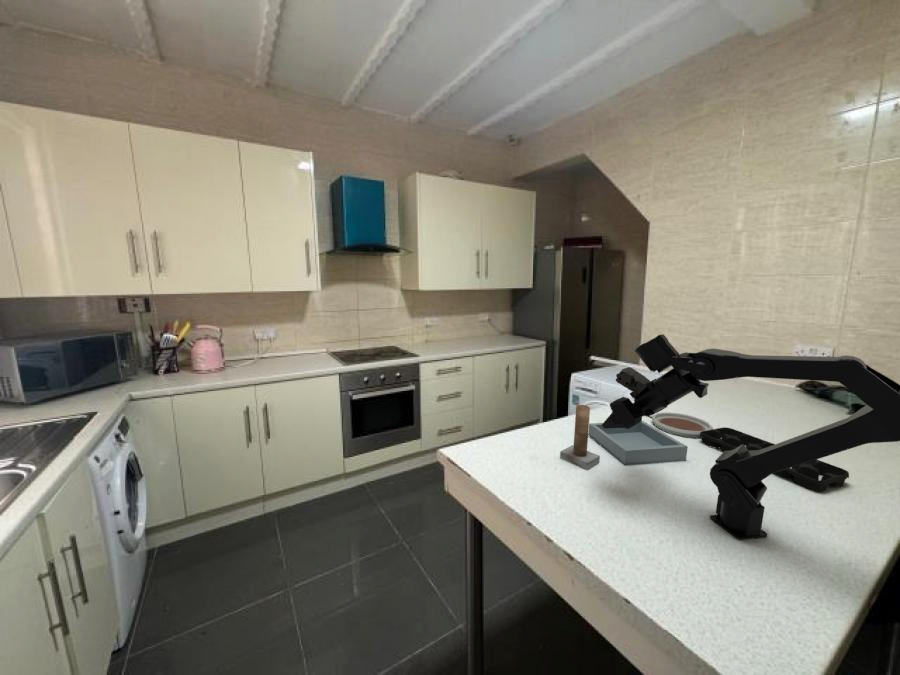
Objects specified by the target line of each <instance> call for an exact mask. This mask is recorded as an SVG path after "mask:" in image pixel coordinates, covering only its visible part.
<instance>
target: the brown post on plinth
mask: <svg viewBox="0 0 900 675" xmlns="http://www.w3.org/2000/svg"><path fill="white" fill-rule="evenodd" d="M590 414H591V407H590V406H588V405H586V404H585V405H584V404H577V405H576V406H575V420H574V433H573V434H574V435H573V444H572V445H570V446H568V447H566V448H564V449H562V450H560V451H559V452H560V453H559V459H561V460H563V461H565V462H568V463H570V464H571V465H575V466H577V467H578V468H581V469H583V470H586V471H588V470H590V469H591V468H593V467H595V466H596V465H599V464H600V461H601V460H600V459H601V456H600V455H599V454H596V453H594V452H592V451H589V450H588V442H589V440H588V439H589V436H588V434H589V424H590Z"/></svg>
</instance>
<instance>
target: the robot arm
mask: <svg viewBox="0 0 900 675" xmlns="http://www.w3.org/2000/svg"><path fill="white" fill-rule="evenodd" d="M634 353H635V354H636V355H637V356H638V357H639V358H638V359H640V361H642V362H643V364H644V365H645V366H646V367H647V369H648V370H649V372H653V373H655V372H657V373H658V374H660V373H663V372H665V371H667V370H668V369H670V368H671V367H672V368H671V369H670V370H668V371H667V372H665V373H664V374H662V375H660V376H659V377H657V378H654V379H652V380H650V379H649V378H647V377H646V376H645V375H643V374H642V373H641V372H639V371H637V370H636V369H635V368H632V367H630V366H628V367H624V368H622V369H621V370H620V371H619V373H617V374H616V375H615V376H616V378H615V382H616V383H618V384H620V385H621V386H623V387H624V388H626V389H627V390H628V391H630V392H629V395H630V397H631V398H632V399H633V401H634V402H632V400H631V399H630V397H626V396H622V397H618V398H617V399H615V400H613V401H612V402H611V403H609V408H610V410H611V413H610V415H609V416H608V417H607V418H606V419H605V420H604V422H602V423H603V424H602V426H603V428H604V429H609V428H626V429H629V428H631V427H633V426H635V425H636V424H638V423H640V422H642V421H643V417H646V416H647V417H650V415H655V414H657V413H660V412H661V411H663V410H664V409H667V408H668V406H670V405H672V404H673V403H675V402H676V401H678V400H680V399H682V398H684V397H685V396H687V395H689V394H691V393H692V392H694V394H695V395H696V397H698V398H699V399H702V398H704V397H705V396H707V395H708V387H709V385H710V384H709V383H708V382H713V381H723V380H732V379H738V378H760V379H761V378H762V379H763V378H764V379H778V380H779V379H783V380H797V381H798V380H804V381H816V382H817V381H818V382H819V381H820V382H834V383H835V382H836V383H839V384H840V385H843V386H844V387H845V388H846V389H848V390H849V391H850V392H851V393H852V394H853V395H854V396H856V397H857V398H858V399H860V400H861V401H862V402H863V403H864V404H865V406H863V407H861V408H860V409H858V410H857V411H855V412H854V413H853V414H851V415H849V416H848V417H846V418H844V419H840V420H837V421H836V422H833V423H828V424H827V425H824V426H822V427H819V428H816V429H813V430H811V431H807V432H805V433H803V434H799V435H797V436H794V437H792V438H789V439H787V440H784V441H781V442H779V443H776V444H775V443H774V444H775V445H772V446H770V447H767V448H764V449H761V450H752V451H748V450H747V448H746V446H745V445H744V444H743V445H741V446H739V447H738V448H736V449H734V450H730V451H724V452H722V453H720V455H719V456H718V457H717V458H716V459H715V461H714V462H715V464H713V466H712V467H711V468H710V469H709V470H710V471H709V477H710V480H711V482H712V483H713V484H714V485H715V487H716V488H717V491H718V494H717V499H716V500H717V502H716V509H715V513H716V514H710V516H709V519H711V520H712V522H715V523H716V525H718V526H719V527H721V528H722V529H724V530H725V531H726V532H727V533H729V534H730V535H732V536H733V537H734V538H736V539H737V540H740V541H741V540H749V539H757V538H766V537H768V532H766V531H765V530H763V529H762V526H763V521H764V514H765V506H764V505H762V502H761V500H762V499H763V497H764V495H765V493H766V491H767V489H768V486H766V485H765V483H764V482H763V480H764V479H766V478H768V477H770V476H771V475H774V474H773V473H776V472H779V471H782V470H785V469H788V468H792V467H795V466H798V465H801V464H804V463H807V462H810V461H813V460H820V459H823V458H825V457H828V456H832V455H835V454H838V453H842V452H844V451H847V450H848V451H849V450H851V449H854V448H857V447H860V446H863V445H868V444H876V443H877V444H879V443H894V442H895V443H897V442H900V383H898V382H896V381H895V380H894V379H892V378H890V377H888V376H886V375H885V374H883V373H881V372H880V371H877V370H876V369H875V368H873V367H871V366H870V365H868V364H866V363H865V361H864V360H862V359H861V358H859V357H858V356H853V355H840V356H808V355H805V356H804V355H802V356H800V355H798V356H797V355H755V354H753V355H752V354H747V353H746V354H745V353H740V352H737V351H733V350H732V351H731V350H727V349H721V348H720V349H719V348H706V349H704V350H701V351H698V352H688V351H686V352H682V353H679V351H677V349H676V348H675V347H674V346H673V345H672V344H671V343H670V341H669V339H668V338H667V336H666V335H664V334H658V335H657V336H655V337H654V338H652V339H650V340H648V341H647V342H644V343H641V345H639V346H638V347H636V348H635V349H634ZM702 381H703V382H702Z"/></svg>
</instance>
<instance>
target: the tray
mask: <svg viewBox="0 0 900 675" xmlns="http://www.w3.org/2000/svg"><path fill="white" fill-rule="evenodd" d="M603 423H604V422H597V423H595V422H594V423H589V429H588V435H589V436H590V437H591V438H590V437H589V436H588V437H589V438H590V439H592V440H593V439H594V440H595V441H596V444H598V446H600V445H601V447H602V448H603V449H604V450H605V451H606V452H608V453H609V454H610V455H611V454H612V455H611V456H613V457H614V458H615V459H617V460H618V461H619V462H620V463H621V464H622V465H624V466H631V465H644V464H658V463H659V462H660V463H670V461H673V462H683V461H684V460H686V461H687V457H688V455H687V454H688V445H685V444H684V443H682V442H680V441H679V440H677V439H675V438H673V437H672V436H670V435H668V433H667V434H666V432H665V433H664V431H662V430H660V429H659V428H657V427H655V426H652V425H651V424H649V423H647V422H645V421H643V420H642V422H640V423H638V424H636V425H635V426H633V427H631V428H629V429H626V428H609V429H604V428H603V426H602V424H603ZM594 440H593V441H594ZM595 441H594V442H595ZM684 462H685V461H684Z"/></svg>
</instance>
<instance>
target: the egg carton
mask: <svg viewBox="0 0 900 675" xmlns="http://www.w3.org/2000/svg"><path fill="white" fill-rule="evenodd" d="M700 436H701V437H702V438H700V439H701V440H700V441H701V443H702V444H703V443H704V445H705V444H706V445H705V446H707V445H708V446H707V447H710V446H711V447H710V448H713V447H714V448H713V449H720V450H721V452H722V453H723V452H724V451H730V450H734V449H736V448H738V447H739V446H741V445H743V444H744V445H745V446H746V448H747V450H748V451H752V450H761V449H764V448H767V447H770V446H772V445H775V443H772V442H769V441H767V440H765V439H761V438H758V437H756V436H753V435H750V434H748V433H745V432H742V431H739V430H737V429H734V428H731V427H726V426H725V427H718V428H713V429H712V430H707V431H701V432H700ZM772 475H774V476H776V477H779V478H781V479H783V480H793V482H794V484H795V485H797V486H798V487H801V488H803V487H804V488H803V489H806V490H809V491H811V492H815V493H824V492H825V491H826V490H827V489H828V487H831V488H840V487H843V486H844V485H845V481H846V480H847V478H848V479H850V472H849V471H848V470H846V469H844V468H841V467H839V466H837V465H833V464H830V463H827V462H825V461H822V460H820V459H817V460H813V461H810V462H807V463H804V464H801V465H798V466H795V467H791V468H788V469H785V470H782V471H779V472H776V473H773V474H772ZM820 476H821V478H820Z"/></svg>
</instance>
